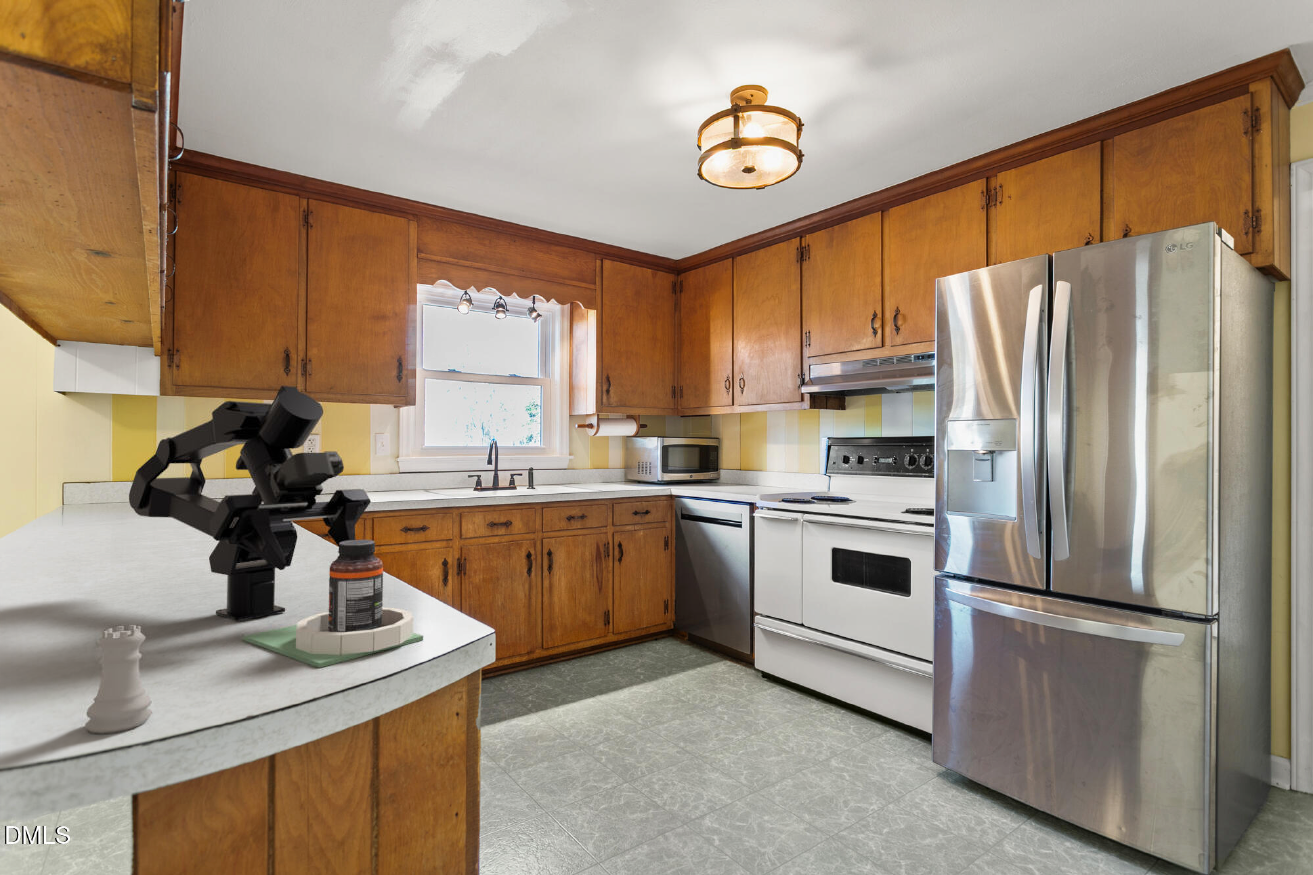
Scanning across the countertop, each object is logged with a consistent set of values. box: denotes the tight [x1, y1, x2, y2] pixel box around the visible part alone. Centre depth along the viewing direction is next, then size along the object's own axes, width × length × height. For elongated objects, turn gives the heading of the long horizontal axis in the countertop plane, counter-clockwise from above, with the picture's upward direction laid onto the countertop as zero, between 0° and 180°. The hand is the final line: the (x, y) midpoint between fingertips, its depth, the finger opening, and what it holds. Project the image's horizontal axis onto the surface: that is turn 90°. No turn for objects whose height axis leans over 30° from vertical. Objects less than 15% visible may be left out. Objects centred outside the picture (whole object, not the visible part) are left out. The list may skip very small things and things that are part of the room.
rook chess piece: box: [84, 624, 153, 735], centre depth 56 cm, size 4×4×8 cm
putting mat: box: [242, 624, 424, 669], centre depth 81 cm, size 17×13×1 cm
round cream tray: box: [296, 607, 414, 655], centre depth 80 cm, size 13×13×2 cm
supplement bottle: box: [328, 539, 384, 632], centre depth 81 cm, size 6×6×11 cm
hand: (320, 562), depth 85 cm, fingers open, 9 cm apart
